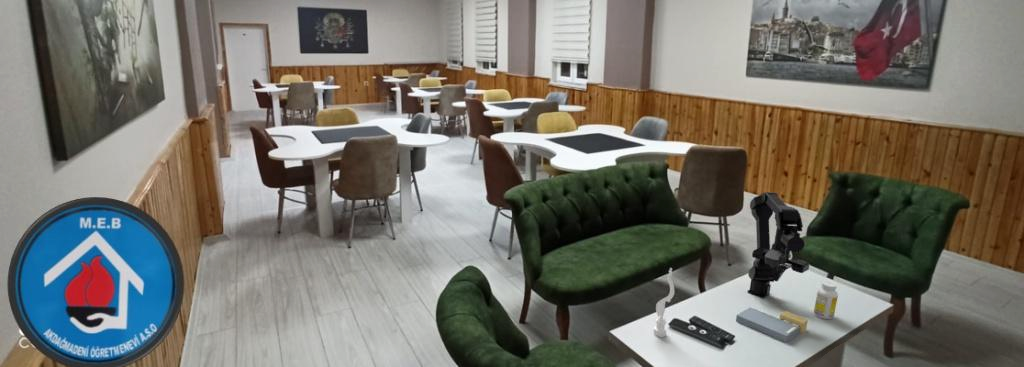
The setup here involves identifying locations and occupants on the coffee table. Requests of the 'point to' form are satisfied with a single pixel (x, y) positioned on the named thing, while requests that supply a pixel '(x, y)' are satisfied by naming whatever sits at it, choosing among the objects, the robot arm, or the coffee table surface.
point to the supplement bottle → (826, 300)
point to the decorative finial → (663, 309)
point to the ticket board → (768, 324)
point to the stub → (795, 320)
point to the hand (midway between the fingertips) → (776, 281)
